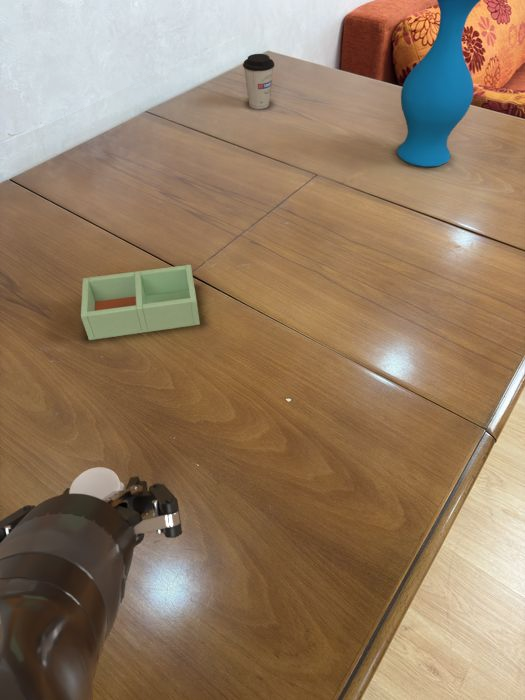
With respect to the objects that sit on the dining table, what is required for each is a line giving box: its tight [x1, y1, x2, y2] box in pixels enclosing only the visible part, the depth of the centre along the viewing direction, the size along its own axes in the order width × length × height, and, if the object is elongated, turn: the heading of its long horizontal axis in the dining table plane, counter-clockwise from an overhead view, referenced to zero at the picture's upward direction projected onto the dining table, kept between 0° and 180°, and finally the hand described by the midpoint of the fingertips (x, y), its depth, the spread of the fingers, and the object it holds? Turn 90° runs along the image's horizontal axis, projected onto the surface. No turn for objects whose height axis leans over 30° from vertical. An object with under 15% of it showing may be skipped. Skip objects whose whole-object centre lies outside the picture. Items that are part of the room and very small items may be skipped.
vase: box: [396, 0, 481, 168], centre depth 95 cm, size 12×13×28 cm
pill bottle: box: [69, 466, 127, 500], centre depth 45 cm, size 5×5×8 cm
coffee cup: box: [242, 53, 275, 110], centre depth 119 cm, size 7×7×10 cm
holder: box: [80, 264, 201, 341], centre depth 74 cm, size 15×8×4 cm, turn 101°
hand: (105, 493), depth 47 cm, fingers closed on pill bottle, 4 cm apart
